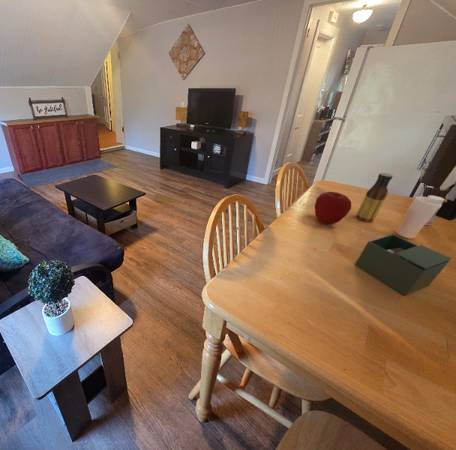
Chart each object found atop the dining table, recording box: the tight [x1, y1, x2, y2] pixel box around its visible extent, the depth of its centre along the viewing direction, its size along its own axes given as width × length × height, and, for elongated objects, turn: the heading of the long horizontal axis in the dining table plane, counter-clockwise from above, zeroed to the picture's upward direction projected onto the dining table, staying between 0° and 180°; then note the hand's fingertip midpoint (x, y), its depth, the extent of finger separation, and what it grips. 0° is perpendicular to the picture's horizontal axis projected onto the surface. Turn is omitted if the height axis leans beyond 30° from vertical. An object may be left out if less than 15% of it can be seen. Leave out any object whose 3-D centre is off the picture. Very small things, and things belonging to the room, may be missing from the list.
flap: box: [396, 244, 452, 269], centre depth 67 cm, size 7×12×1 cm, turn 111°
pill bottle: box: [424, 195, 445, 226], centre depth 99 cm, size 6×6×11 cm
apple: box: [314, 191, 352, 225], centre depth 98 cm, size 12×12×13 cm
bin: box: [354, 233, 450, 297], centre depth 72 cm, size 14×12×9 cm
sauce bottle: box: [356, 172, 393, 223], centre depth 99 cm, size 7×6×20 cm
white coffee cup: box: [396, 195, 442, 240], centre depth 90 cm, size 7×7×15 cm
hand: (444, 217), depth 63 cm, fingers closed
